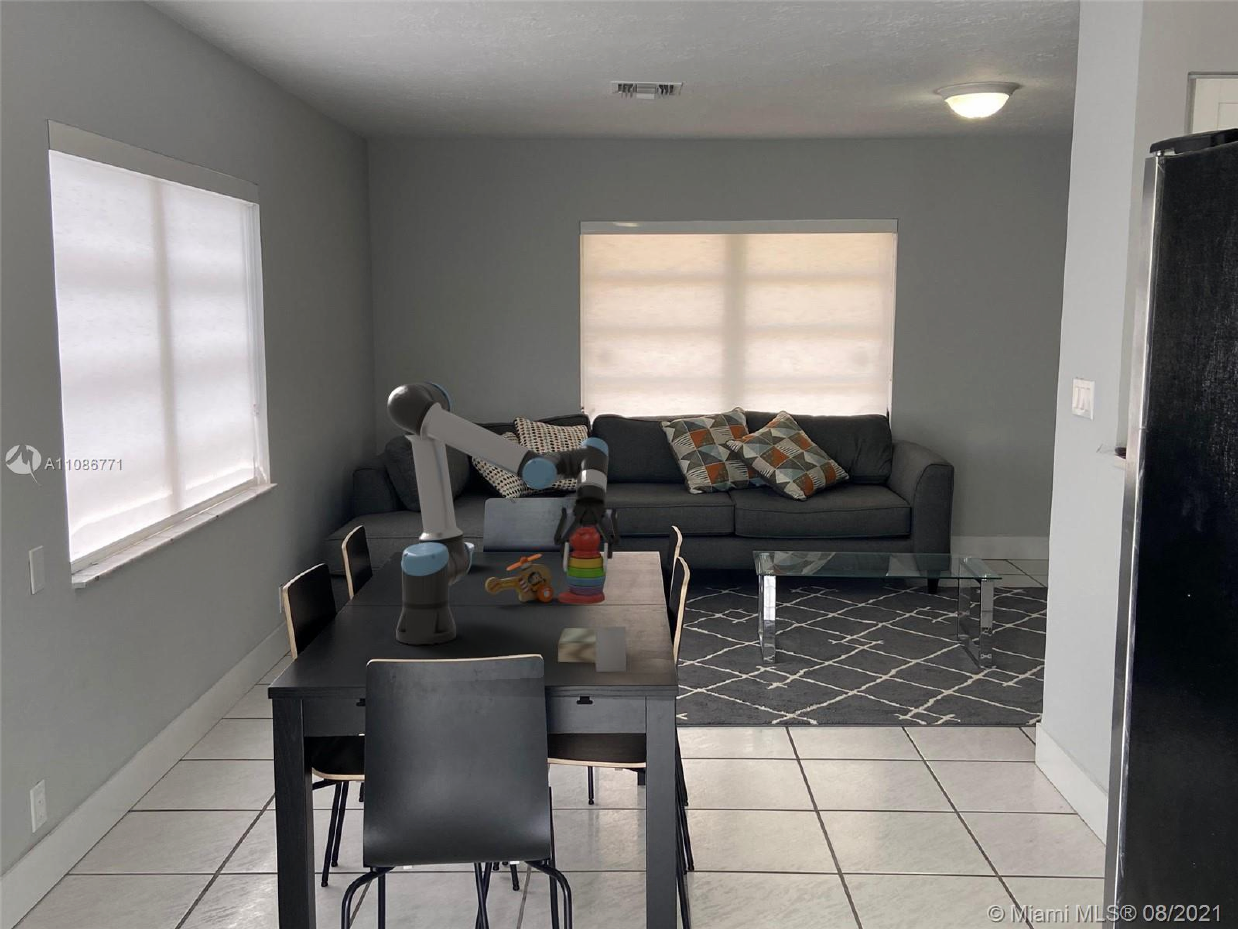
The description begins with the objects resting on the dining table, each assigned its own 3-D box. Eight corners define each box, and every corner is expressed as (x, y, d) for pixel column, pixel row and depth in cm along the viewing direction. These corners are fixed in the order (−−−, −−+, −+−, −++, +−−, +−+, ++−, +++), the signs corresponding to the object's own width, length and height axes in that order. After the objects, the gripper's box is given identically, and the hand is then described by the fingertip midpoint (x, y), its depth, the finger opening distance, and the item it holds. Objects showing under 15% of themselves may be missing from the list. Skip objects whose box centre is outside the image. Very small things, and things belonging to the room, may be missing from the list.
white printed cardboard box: (626, 671, 251) (626, 629, 250) (596, 672, 250) (597, 629, 249) (624, 666, 255) (624, 624, 253) (595, 667, 254) (595, 625, 253)
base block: (558, 661, 258) (558, 641, 257) (563, 647, 270) (563, 627, 269) (608, 663, 257) (608, 642, 256) (611, 648, 269) (612, 628, 268)
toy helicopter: (557, 600, 317) (557, 554, 315) (492, 610, 306) (492, 562, 304) (543, 595, 324) (543, 549, 322) (480, 603, 313) (479, 556, 311)
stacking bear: (582, 592, 269) (582, 521, 267) (615, 598, 263) (615, 526, 261) (554, 600, 260) (554, 527, 258) (587, 607, 254) (588, 532, 252)
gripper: (634, 501, 274) (630, 578, 260) (549, 500, 275) (541, 576, 261) (633, 483, 268) (629, 560, 254) (546, 482, 269) (538, 559, 255)
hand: (585, 568), depth 258 cm, fingers closed on stacking bear, 9 cm apart
